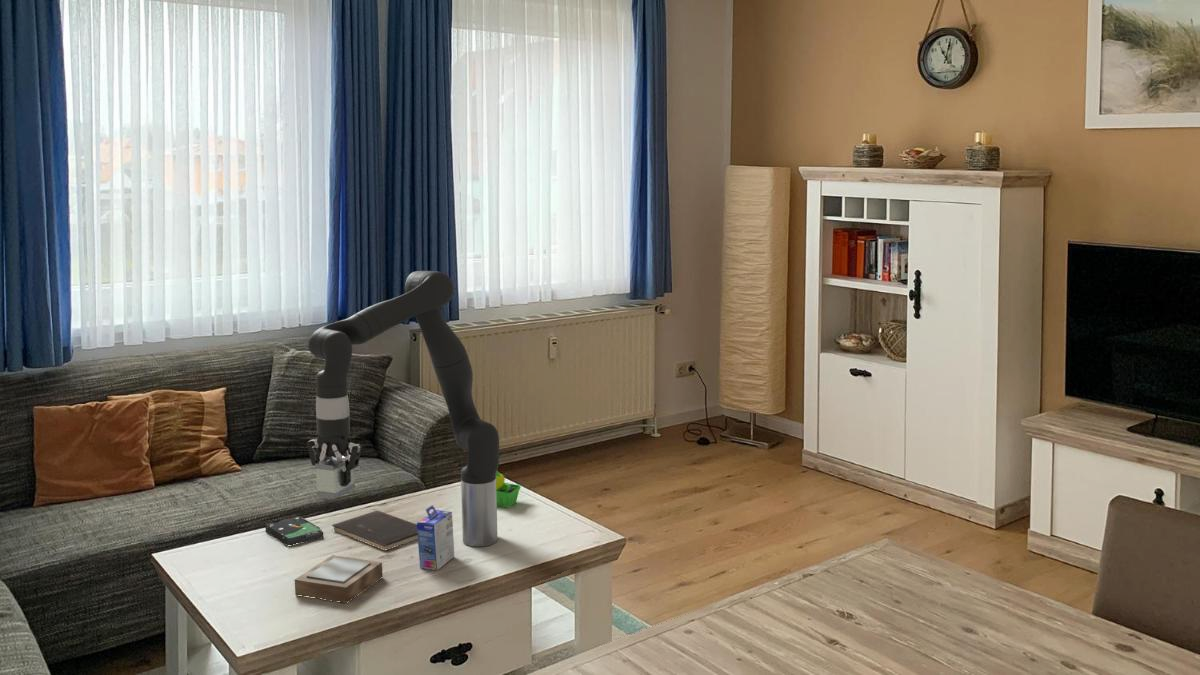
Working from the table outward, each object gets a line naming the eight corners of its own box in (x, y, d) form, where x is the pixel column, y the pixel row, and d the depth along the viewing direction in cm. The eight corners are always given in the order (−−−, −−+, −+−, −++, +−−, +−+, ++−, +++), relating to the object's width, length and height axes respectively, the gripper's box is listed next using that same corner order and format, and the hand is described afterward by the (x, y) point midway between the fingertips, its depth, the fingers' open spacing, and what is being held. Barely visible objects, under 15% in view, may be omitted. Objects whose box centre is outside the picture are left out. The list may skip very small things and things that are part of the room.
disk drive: (264, 533, 297) (288, 548, 286) (264, 524, 296) (288, 538, 285) (299, 524, 304) (324, 538, 293) (299, 515, 303) (324, 528, 292)
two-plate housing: (316, 496, 252) (315, 463, 251) (337, 485, 261) (336, 453, 259) (334, 499, 251) (333, 465, 249) (355, 487, 259) (353, 455, 258)
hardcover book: (384, 553, 282) (384, 545, 282) (332, 532, 297) (332, 524, 297) (431, 536, 294) (431, 528, 294) (379, 517, 309) (379, 509, 309)
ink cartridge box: (436, 554, 280) (434, 500, 278) (455, 556, 279) (453, 502, 276) (417, 568, 271) (415, 513, 269) (437, 571, 269) (435, 515, 267)
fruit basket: (522, 501, 321) (521, 464, 319) (507, 510, 313) (507, 473, 311) (488, 496, 325) (488, 460, 323) (473, 505, 317) (472, 468, 315)
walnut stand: (333, 570, 270) (332, 553, 269) (382, 577, 266) (381, 560, 265) (295, 595, 255) (294, 578, 254) (346, 603, 251) (346, 585, 250)
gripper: (368, 413, 254) (370, 483, 257) (315, 408, 258) (318, 476, 261) (351, 420, 247) (353, 492, 250) (297, 415, 251) (300, 485, 254)
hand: (335, 484), depth 255 cm, fingers closed on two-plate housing, 4 cm apart
